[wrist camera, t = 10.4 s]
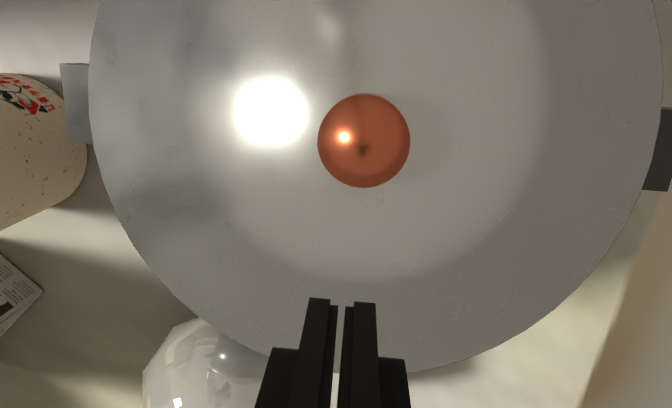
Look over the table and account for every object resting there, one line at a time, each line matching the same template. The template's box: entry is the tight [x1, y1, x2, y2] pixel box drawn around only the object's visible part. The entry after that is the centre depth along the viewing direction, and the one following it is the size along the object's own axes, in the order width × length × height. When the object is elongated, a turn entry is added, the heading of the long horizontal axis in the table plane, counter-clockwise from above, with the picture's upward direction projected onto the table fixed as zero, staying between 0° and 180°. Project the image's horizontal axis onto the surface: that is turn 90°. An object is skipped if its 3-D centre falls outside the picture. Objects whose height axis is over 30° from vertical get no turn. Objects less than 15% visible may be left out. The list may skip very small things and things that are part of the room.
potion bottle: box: [142, 317, 339, 408], centre depth 28 cm, size 9×10×15 cm
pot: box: [60, 63, 672, 192], centre depth 21 cm, size 21×25×10 cm
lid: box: [88, 0, 663, 374], centre depth 16 cm, size 20×20×3 cm
